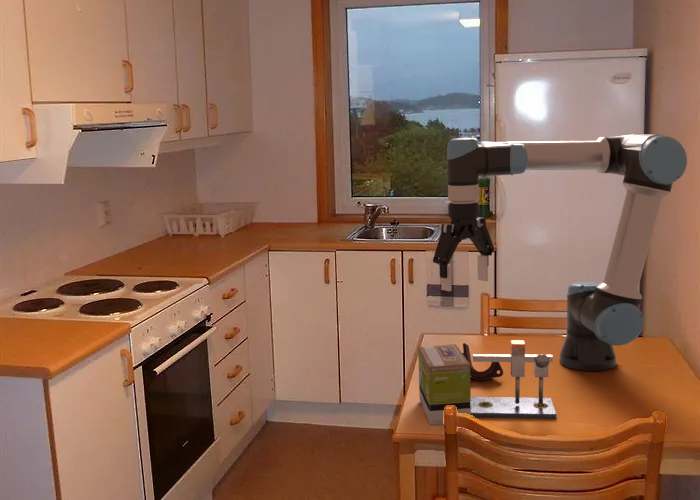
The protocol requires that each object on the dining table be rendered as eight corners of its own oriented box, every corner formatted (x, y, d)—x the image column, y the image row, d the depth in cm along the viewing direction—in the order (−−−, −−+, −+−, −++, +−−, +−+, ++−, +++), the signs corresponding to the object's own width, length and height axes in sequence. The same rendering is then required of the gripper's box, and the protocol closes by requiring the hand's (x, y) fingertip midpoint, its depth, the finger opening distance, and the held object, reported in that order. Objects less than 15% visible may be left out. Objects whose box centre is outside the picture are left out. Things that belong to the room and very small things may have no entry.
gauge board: (550, 402, 190) (550, 397, 190) (556, 419, 180) (556, 413, 180) (468, 401, 192) (468, 396, 192) (469, 417, 183) (469, 412, 182)
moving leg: (523, 400, 187) (523, 340, 184) (524, 405, 184) (524, 344, 181) (510, 400, 187) (510, 340, 184) (511, 405, 185) (511, 343, 182)
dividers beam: (550, 401, 186) (551, 351, 184) (552, 405, 183) (553, 355, 181) (472, 400, 188) (472, 350, 186) (473, 404, 186) (473, 354, 183)
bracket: (502, 375, 202) (495, 337, 204) (439, 385, 206) (433, 348, 208) (504, 376, 208) (498, 339, 210) (442, 386, 212) (436, 349, 214)
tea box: (418, 401, 193) (417, 345, 191) (457, 399, 194) (457, 342, 191) (429, 426, 179) (428, 365, 176) (472, 423, 179) (471, 362, 177)
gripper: (484, 194, 201) (485, 274, 205) (416, 206, 186) (419, 292, 190) (507, 196, 196) (508, 278, 200) (439, 208, 180) (441, 297, 184)
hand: (465, 285), depth 195 cm, fingers open, 13 cm apart
